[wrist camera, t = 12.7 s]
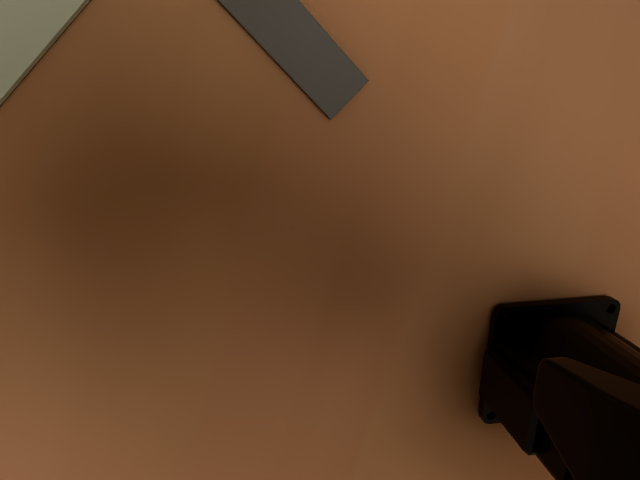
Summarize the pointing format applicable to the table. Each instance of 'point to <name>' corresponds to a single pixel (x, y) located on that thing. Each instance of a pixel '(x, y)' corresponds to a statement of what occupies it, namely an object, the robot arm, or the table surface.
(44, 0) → the mat
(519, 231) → the table surface
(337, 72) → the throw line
